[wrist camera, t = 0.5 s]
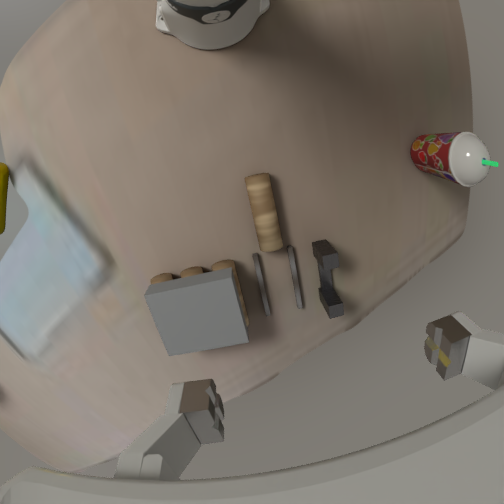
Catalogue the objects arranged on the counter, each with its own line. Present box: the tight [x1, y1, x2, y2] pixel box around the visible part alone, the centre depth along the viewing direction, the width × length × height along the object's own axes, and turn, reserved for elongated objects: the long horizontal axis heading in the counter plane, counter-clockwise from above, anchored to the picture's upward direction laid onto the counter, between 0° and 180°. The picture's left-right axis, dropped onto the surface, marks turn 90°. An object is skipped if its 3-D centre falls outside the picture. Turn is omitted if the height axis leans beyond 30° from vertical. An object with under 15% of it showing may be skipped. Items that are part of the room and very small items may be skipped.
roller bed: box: [151, 245, 303, 326], centre depth 54 cm, size 12×25×4 cm, turn 102°
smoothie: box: [411, 132, 498, 187], centre depth 40 cm, size 8×8×20 cm
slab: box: [144, 267, 249, 356], centre depth 51 cm, size 12×14×4 cm
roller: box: [245, 173, 283, 252], centre depth 50 cm, size 12×4×4 cm, turn 12°
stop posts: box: [312, 239, 344, 319], centre depth 52 cm, size 11×2×7 cm, turn 12°
